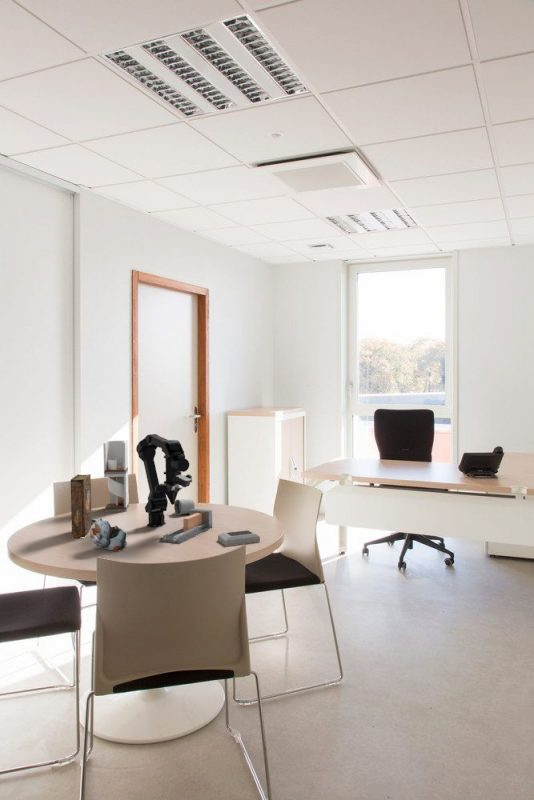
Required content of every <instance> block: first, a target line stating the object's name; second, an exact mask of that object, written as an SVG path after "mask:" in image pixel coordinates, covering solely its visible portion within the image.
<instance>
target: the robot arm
mask: <svg viewBox="0 0 534 800" xmlns="http://www.w3.org/2000/svg"><path fill="white" fill-rule="evenodd" d="M135 448H136V449H135V450H136V451H135V452H137V456H138V458H139V459H140V460H141V461H142V462H143V466H144V470H145V476H146V479H147V480H146V481H147V484H148V489H149V493H148V496H147V503H146V504H145V506H144V510H145V513H147V514H148V523H146V526H147V527H161V526H163V525H166V524H167V523H166V522H165V521H166V520H165V513H164V512H167V510H168V503H169V504H170V505H172V506H174V504H175V501H176V500H177V496H178V494H179V492H180V491H181V490H182V489H183V488H187V487H190V485H191V483H193V477H192V474H190V473H188V474H186V475H183V474H182V472H183V473H184V472H187V470H189V469H190V462H189V460H188V459H187V458H186V455H185V451H184V449H183V447H182V444H181V442H180V441H179V440H177V439H172V440H171V439H168V438H167V439H166V438H165V437H162V436H160V435H159V434H156V433H154V434H153V433H152V434H147V435H146V436H145V437H144V438H143V439H141V440H140V441H138V443H137V445H136V447H135ZM158 448H159V449H161V452H162V453H164V455H163V459H165V460H164V461H165V471H163V475H165V481H163V483H160V481H159V477H158V473H157V468H156V463H155V457H156V454H157V451H156V450H157V449H158ZM180 486H181V487H180ZM168 501H169V502H168Z"/></svg>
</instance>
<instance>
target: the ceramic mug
mask: <svg viewBox="0 0 534 800" xmlns="http://www.w3.org/2000/svg"><path fill="white" fill-rule="evenodd" d="M173 506H174V507H173V508H174V509H173V510H174V513H175V514H176V516H182V515H189V510H190V509H196V508H195V502H194V500H193V499H191V498H184V499H183V498H182V499H177V498H176V500H175V504H174V505H173Z"/></svg>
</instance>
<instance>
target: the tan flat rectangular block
mask: <svg viewBox="0 0 534 800" xmlns="http://www.w3.org/2000/svg"><path fill="white" fill-rule="evenodd" d="M182 521H183V522H182V523H183V526H182V527H183V528H184V532H185V531H187V530H189V529H191V528H193V527H196V526H198V525H200V524H202V513H195V514H193V515H191V516H189V515H188V516H186V517H184V518H183V519H182Z"/></svg>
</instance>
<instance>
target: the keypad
mask: <svg viewBox="0 0 534 800" xmlns="http://www.w3.org/2000/svg"><path fill="white" fill-rule="evenodd" d="M217 541H218V542H219V541H220V542H219V543H221V544H222V545H223V544H224V545H223V546H224V547H228V546H229V545H231V546H237V545H236V544H238V545H244V544H243V543H247V544H251V543H250V542H255V543H259V542H258V541H260V542H261V537H260V536H259V535H258V534H257V533H255V532H253V530H250V529H246V530H245V529H244V530H237V531H229V532H228V531H227V532H222V533H220V534H218V535H217ZM229 547H230V546H229Z"/></svg>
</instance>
